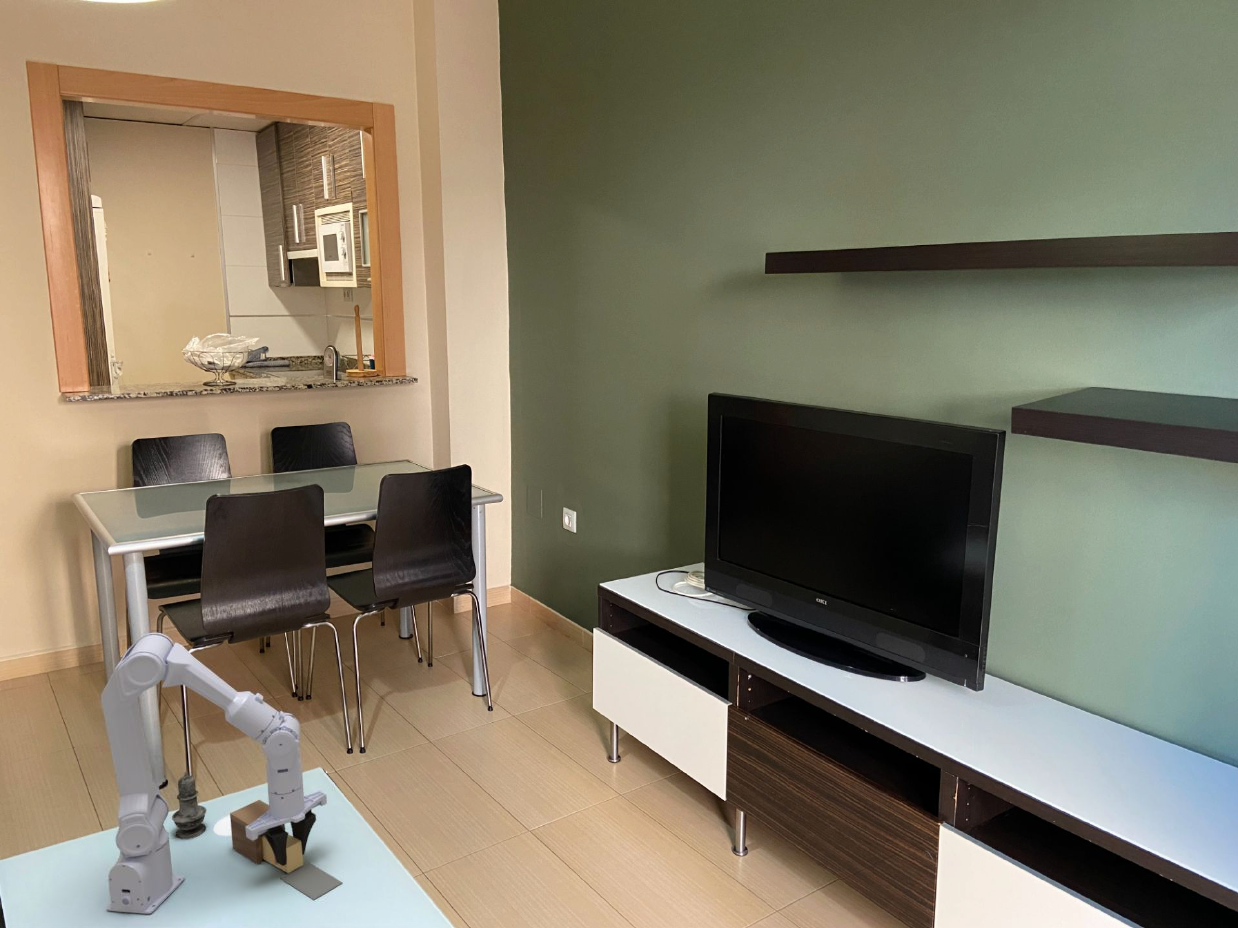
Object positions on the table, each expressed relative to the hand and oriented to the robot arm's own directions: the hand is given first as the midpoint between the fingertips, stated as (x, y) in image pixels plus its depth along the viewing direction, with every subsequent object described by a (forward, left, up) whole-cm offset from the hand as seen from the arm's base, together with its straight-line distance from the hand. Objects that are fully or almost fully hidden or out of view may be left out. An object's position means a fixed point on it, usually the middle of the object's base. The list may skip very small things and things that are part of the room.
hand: (290, 857), depth 157 cm
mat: (-3, -5, -2) cm, 6 cm away
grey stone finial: (+9, +25, -2) cm, 26 cm away
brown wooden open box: (+5, +9, -2) cm, 10 cm away
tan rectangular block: (+2, +4, -2) cm, 5 cm away
